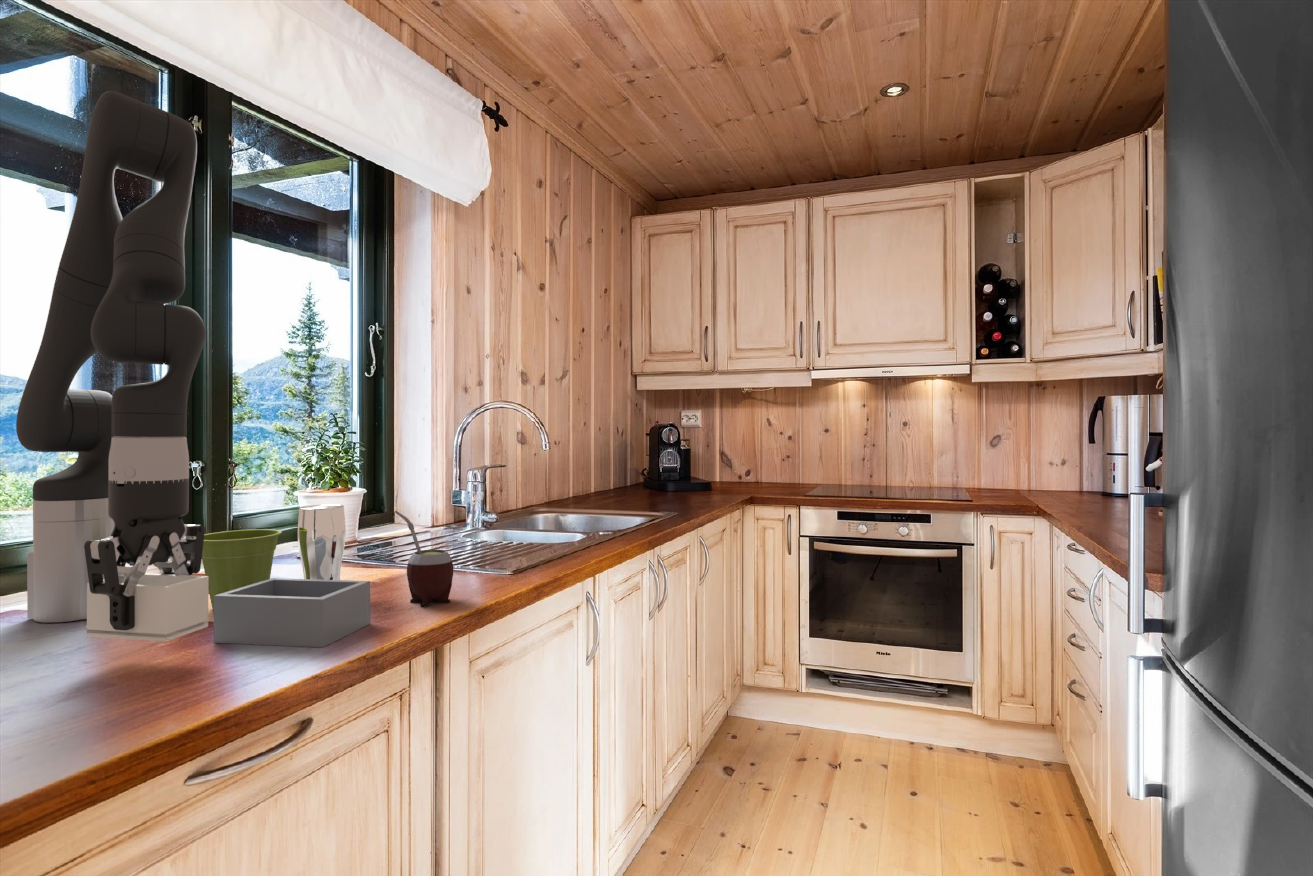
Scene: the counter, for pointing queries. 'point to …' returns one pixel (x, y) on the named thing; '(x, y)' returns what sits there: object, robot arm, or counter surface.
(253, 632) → the slate crate
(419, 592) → the mate gourd
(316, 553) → the beer glass
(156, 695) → the counter surface
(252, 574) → the plant pot
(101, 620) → the white crate
